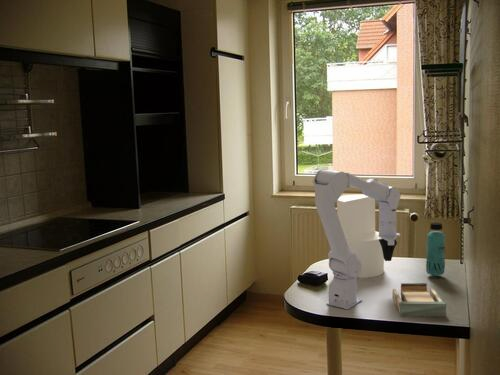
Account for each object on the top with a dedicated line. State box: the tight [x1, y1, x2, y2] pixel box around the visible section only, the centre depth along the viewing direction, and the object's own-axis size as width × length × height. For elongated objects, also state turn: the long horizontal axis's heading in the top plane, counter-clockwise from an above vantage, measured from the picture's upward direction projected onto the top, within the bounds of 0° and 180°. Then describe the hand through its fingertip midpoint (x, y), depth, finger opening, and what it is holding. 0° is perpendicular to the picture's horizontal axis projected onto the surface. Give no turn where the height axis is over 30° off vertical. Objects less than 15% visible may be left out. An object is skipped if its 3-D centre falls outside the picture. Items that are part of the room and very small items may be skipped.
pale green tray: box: [392, 288, 447, 317], centre depth 167 cm, size 16×13×4 cm
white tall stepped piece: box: [336, 194, 385, 279], centre depth 203 cm, size 17×17×28 cm
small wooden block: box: [400, 282, 435, 302], centre depth 168 cm, size 12×8×5 cm, turn 175°
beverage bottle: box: [425, 221, 446, 276], centre depth 193 cm, size 6×7×20 cm
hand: (387, 260), depth 181 cm, fingers closed
